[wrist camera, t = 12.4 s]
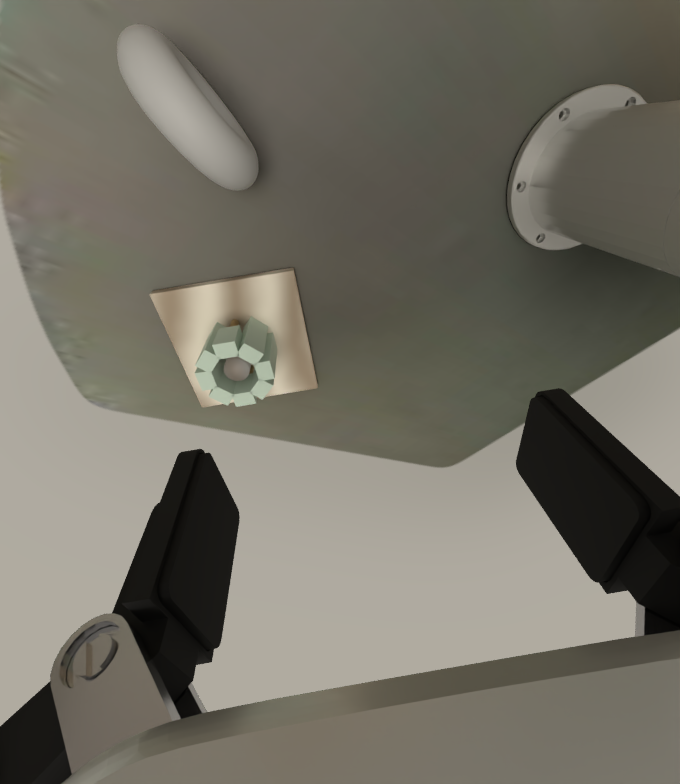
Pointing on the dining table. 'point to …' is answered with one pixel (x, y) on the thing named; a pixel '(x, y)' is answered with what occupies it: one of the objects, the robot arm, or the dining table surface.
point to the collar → (245, 345)
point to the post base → (235, 307)
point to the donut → (185, 108)
